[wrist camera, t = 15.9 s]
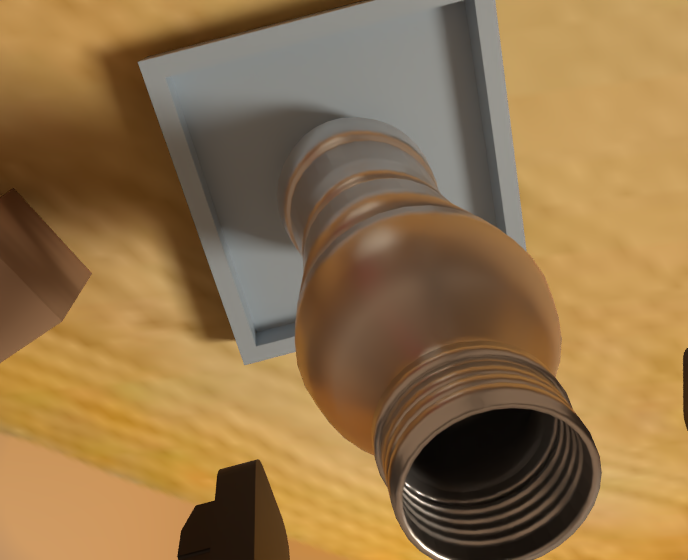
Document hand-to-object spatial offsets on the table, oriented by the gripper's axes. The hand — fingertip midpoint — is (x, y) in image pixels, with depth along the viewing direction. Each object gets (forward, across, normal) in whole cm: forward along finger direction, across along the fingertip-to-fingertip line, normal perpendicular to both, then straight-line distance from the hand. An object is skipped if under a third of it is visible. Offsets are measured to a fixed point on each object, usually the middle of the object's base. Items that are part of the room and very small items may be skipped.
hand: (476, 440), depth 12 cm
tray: (+20, 0, 0) cm, 20 cm away
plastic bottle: (+19, 0, 0) cm, 19 cm away
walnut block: (+20, +16, 0) cm, 26 cm away
